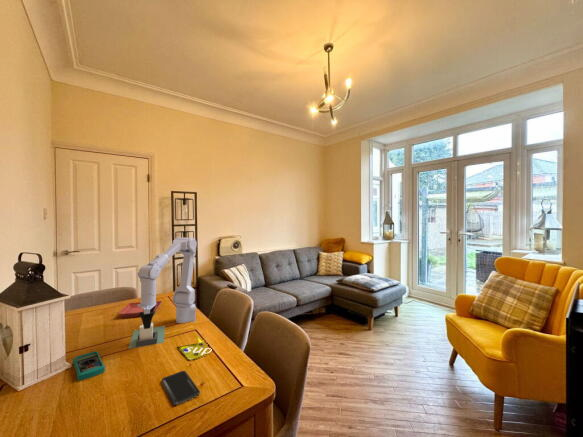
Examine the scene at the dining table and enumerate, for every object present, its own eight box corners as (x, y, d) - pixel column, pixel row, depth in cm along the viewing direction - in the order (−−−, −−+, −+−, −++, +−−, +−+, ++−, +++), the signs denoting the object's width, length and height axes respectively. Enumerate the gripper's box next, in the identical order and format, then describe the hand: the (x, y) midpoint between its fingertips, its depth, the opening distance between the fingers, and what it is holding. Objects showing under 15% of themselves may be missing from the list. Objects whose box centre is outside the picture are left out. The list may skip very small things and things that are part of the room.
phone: (174, 404, 73) (160, 378, 84) (174, 408, 73) (160, 381, 84) (201, 392, 78) (185, 369, 89) (201, 396, 78) (185, 373, 89)
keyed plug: (152, 338, 111) (153, 322, 111) (152, 342, 107) (152, 326, 107) (140, 340, 109) (140, 324, 109) (139, 344, 105) (139, 327, 105)
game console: (172, 345, 108) (172, 342, 108) (197, 337, 116) (197, 334, 116) (189, 363, 95) (189, 359, 95) (216, 353, 103) (216, 349, 103)
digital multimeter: (77, 383, 82) (78, 374, 82) (72, 364, 93) (72, 356, 93) (105, 374, 88) (105, 365, 88) (97, 356, 98) (97, 349, 98)
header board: (165, 327, 124) (165, 321, 124) (163, 344, 107) (164, 337, 107) (134, 332, 118) (134, 326, 118) (128, 351, 102) (128, 343, 102)
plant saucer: (128, 308, 150) (128, 302, 150) (162, 305, 155) (162, 300, 155) (117, 320, 132) (117, 313, 132) (155, 317, 138) (156, 310, 138)
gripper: (139, 289, 113) (139, 319, 113) (135, 299, 100) (134, 333, 100) (157, 288, 116) (156, 317, 116) (155, 297, 103) (154, 330, 103)
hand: (147, 324), depth 108 cm, fingers open, 7 cm apart
